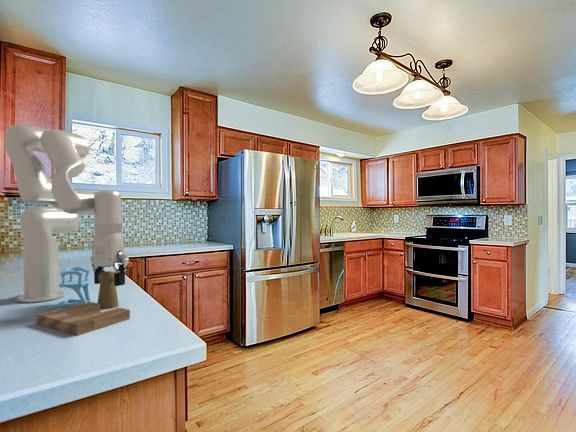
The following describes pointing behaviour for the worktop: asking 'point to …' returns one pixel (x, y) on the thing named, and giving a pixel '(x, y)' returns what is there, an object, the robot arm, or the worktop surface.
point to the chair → (75, 286)
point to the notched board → (82, 318)
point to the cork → (107, 291)
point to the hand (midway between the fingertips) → (109, 284)
